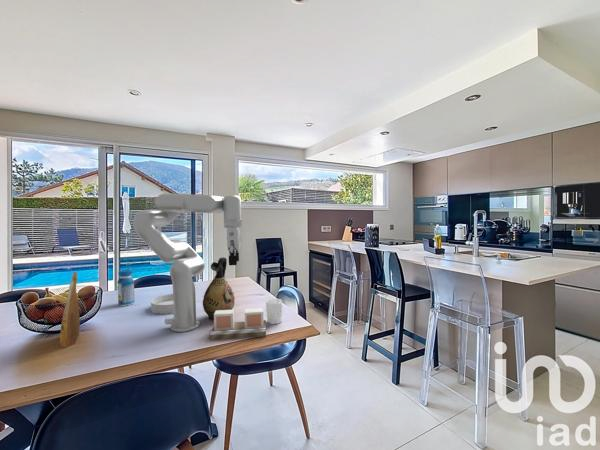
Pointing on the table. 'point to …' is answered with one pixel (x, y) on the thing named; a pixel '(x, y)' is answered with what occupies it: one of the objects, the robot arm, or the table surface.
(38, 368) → the table surface
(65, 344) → the pancake mix bag
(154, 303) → the dish
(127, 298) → the beverage bottle
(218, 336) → the grey rectangular tray
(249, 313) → the carton
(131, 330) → the table surface
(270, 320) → the white cup
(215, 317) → the turned carton
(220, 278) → the ceramic jug
